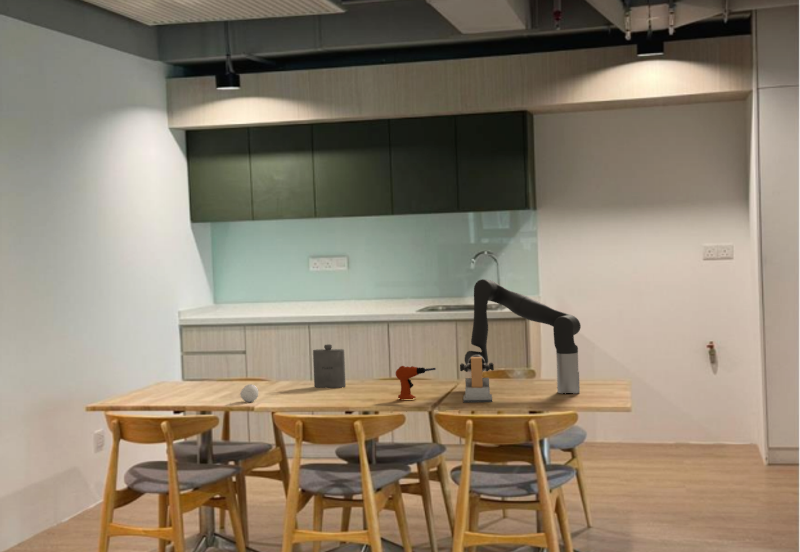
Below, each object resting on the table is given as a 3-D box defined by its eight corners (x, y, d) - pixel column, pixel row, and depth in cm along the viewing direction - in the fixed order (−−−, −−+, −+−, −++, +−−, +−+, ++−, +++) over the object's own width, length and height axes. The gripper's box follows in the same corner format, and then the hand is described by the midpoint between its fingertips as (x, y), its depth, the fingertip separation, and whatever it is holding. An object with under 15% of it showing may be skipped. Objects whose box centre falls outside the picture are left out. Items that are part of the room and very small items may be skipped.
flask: (312, 388, 498) (310, 345, 497) (316, 386, 504) (314, 344, 503) (343, 388, 495) (341, 345, 494) (346, 386, 500) (345, 343, 500)
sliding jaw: (489, 393, 456) (488, 377, 455) (489, 394, 453) (488, 378, 452) (465, 394, 456) (465, 378, 456) (465, 395, 453) (465, 379, 453)
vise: (491, 396, 456) (491, 382, 456) (492, 402, 442) (491, 387, 442) (463, 397, 457) (463, 383, 457) (463, 402, 443) (462, 388, 443)
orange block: (483, 396, 450) (481, 356, 449) (483, 398, 446) (481, 358, 445) (472, 397, 450) (471, 357, 450) (472, 398, 446) (470, 358, 445)
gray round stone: (249, 399, 470) (249, 382, 470) (262, 401, 465) (262, 383, 465) (237, 402, 463) (236, 385, 463) (250, 403, 459) (249, 386, 459)
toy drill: (438, 397, 448) (432, 362, 448) (396, 402, 455) (391, 367, 455) (441, 396, 453) (436, 361, 453) (400, 400, 459) (395, 366, 459)
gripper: (459, 355, 463) (459, 360, 447) (492, 355, 462) (493, 359, 446) (460, 373, 463) (460, 378, 447) (493, 372, 462) (494, 377, 446)
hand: (476, 369), depth 446 cm, fingers open, 8 cm apart
